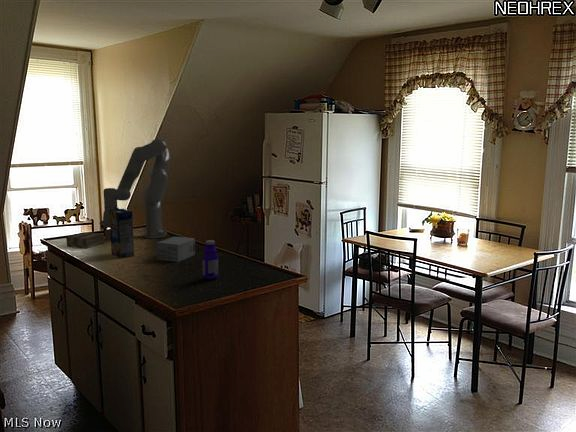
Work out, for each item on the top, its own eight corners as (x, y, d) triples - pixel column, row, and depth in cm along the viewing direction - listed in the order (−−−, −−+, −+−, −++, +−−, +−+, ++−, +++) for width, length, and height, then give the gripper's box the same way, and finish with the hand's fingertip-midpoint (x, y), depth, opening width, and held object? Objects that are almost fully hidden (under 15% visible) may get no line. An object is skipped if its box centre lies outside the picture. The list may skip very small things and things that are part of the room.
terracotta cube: (119, 239, 316) (119, 229, 315) (113, 241, 311) (112, 231, 310) (111, 238, 318) (111, 228, 317) (105, 240, 313) (104, 230, 312)
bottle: (212, 275, 241) (211, 238, 238) (220, 278, 237) (220, 240, 234) (200, 279, 235) (199, 241, 232) (208, 281, 232) (208, 243, 229)
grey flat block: (103, 244, 303) (103, 234, 302) (86, 249, 290) (86, 238, 289) (84, 242, 308) (84, 232, 307) (67, 247, 295) (66, 236, 294)
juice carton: (111, 254, 279) (109, 209, 275) (124, 252, 283) (122, 208, 279) (120, 258, 270) (118, 212, 266) (134, 256, 274) (132, 211, 270)
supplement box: (178, 262, 264) (178, 244, 262) (156, 260, 268) (155, 242, 267) (195, 255, 279) (195, 237, 278) (174, 252, 284) (174, 235, 282)
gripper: (126, 208, 311) (128, 237, 314) (103, 207, 318) (105, 234, 321) (118, 210, 305) (119, 239, 308) (94, 208, 311) (96, 236, 314)
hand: (112, 236), depth 314 cm, fingers open, 9 cm apart
